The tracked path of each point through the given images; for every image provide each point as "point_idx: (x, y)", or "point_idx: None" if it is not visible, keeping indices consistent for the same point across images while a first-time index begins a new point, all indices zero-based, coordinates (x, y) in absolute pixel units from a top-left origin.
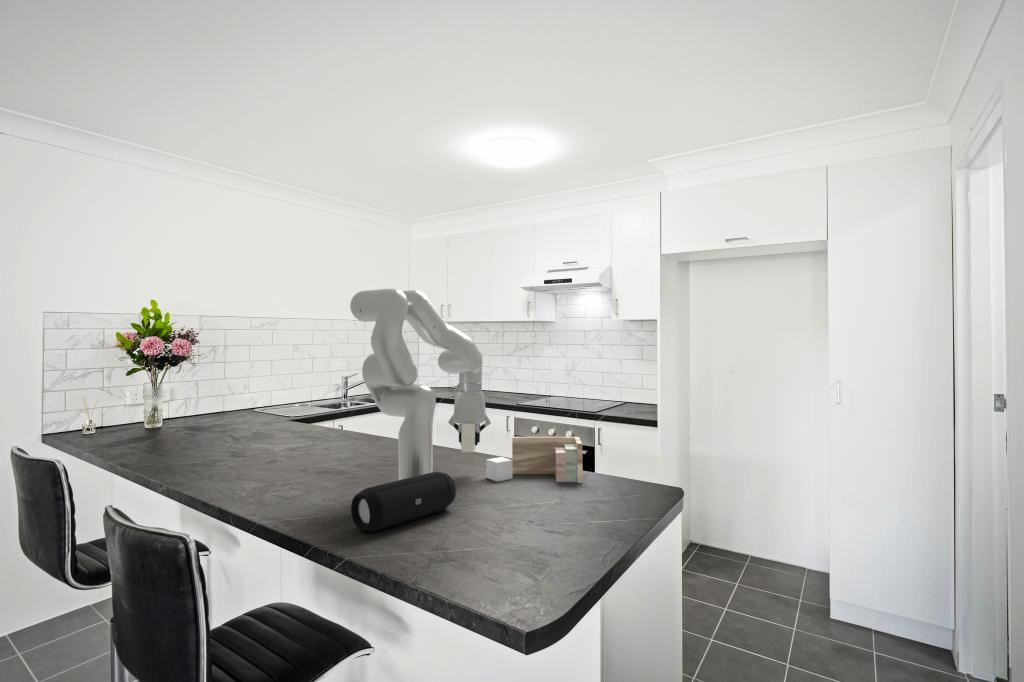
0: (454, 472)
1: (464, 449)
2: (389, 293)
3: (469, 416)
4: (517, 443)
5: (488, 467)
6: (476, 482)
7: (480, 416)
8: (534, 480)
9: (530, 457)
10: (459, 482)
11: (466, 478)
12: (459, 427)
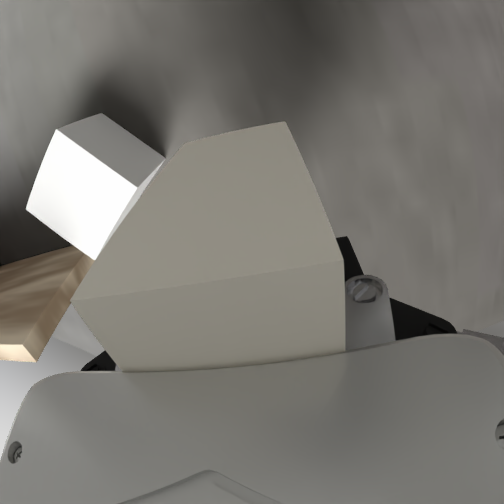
0: (340, 213)
1: (258, 131)
2: None
3: (194, 489)
4: (20, 323)
5: (134, 161)
6: (179, 68)
7: (24, 454)
8: (6, 179)
9: (18, 287)
10: (260, 48)
11: (252, 122)
12: (379, 321)
